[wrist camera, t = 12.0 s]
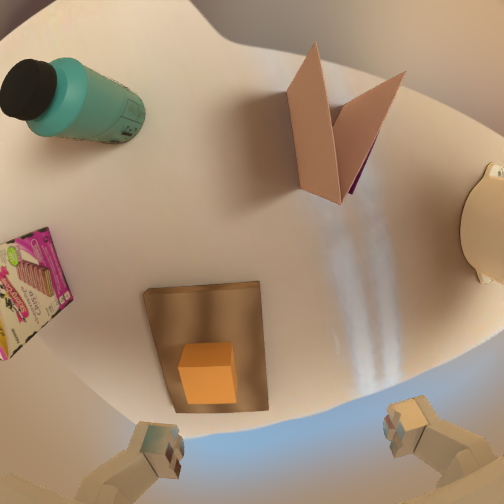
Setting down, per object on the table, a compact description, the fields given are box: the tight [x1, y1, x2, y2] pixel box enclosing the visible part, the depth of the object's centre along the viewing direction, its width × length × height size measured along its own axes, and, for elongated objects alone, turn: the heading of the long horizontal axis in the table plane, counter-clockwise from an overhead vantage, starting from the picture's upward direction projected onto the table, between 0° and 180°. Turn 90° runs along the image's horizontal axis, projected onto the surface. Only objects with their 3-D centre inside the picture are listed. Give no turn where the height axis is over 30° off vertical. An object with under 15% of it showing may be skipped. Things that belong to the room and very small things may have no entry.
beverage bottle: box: [0, 58, 145, 144], centre depth 21 cm, size 6×7×20 cm
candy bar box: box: [0, 227, 73, 361], centre depth 27 cm, size 11×5×16 cm, turn 13°
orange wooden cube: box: [178, 342, 237, 404], centre depth 35 cm, size 6×6×5 cm
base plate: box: [143, 281, 269, 413], centre depth 38 cm, size 14×20×2 cm
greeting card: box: [286, 42, 406, 205], centre depth 25 cm, size 11×7×15 cm, turn 153°
